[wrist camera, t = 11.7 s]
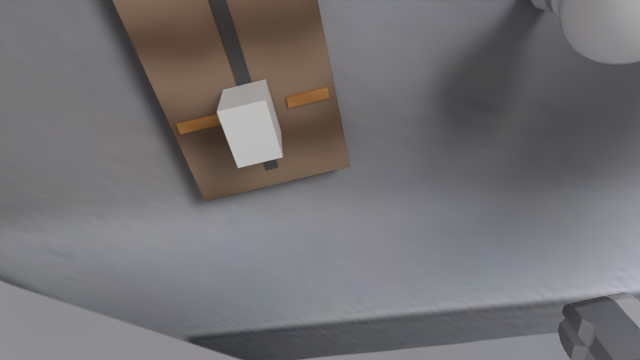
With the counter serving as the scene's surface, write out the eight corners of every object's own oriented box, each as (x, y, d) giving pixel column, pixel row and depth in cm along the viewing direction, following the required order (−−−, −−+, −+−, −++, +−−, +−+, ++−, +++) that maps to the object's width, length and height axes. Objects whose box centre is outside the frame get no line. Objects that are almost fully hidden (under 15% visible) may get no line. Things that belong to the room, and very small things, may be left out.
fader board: (30, -212, 20) (6, -226, 18) (261, -271, 20) (260, -292, 18) (208, 188, 33) (204, 202, 31) (345, 154, 33) (350, 167, 31)
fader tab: (222, 89, 27) (216, 112, 23) (265, 79, 27) (265, 100, 23) (241, 140, 29) (238, 168, 25) (280, 131, 29) (282, 157, 25)
